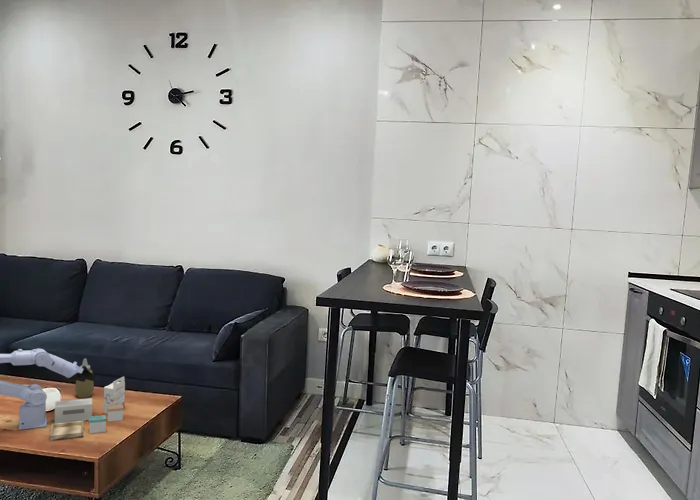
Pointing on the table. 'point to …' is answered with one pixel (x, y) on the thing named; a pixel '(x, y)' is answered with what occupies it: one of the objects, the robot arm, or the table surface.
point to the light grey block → (115, 413)
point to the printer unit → (73, 410)
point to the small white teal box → (97, 424)
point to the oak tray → (66, 430)
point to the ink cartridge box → (114, 394)
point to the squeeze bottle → (84, 384)
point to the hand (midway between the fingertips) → (89, 379)
